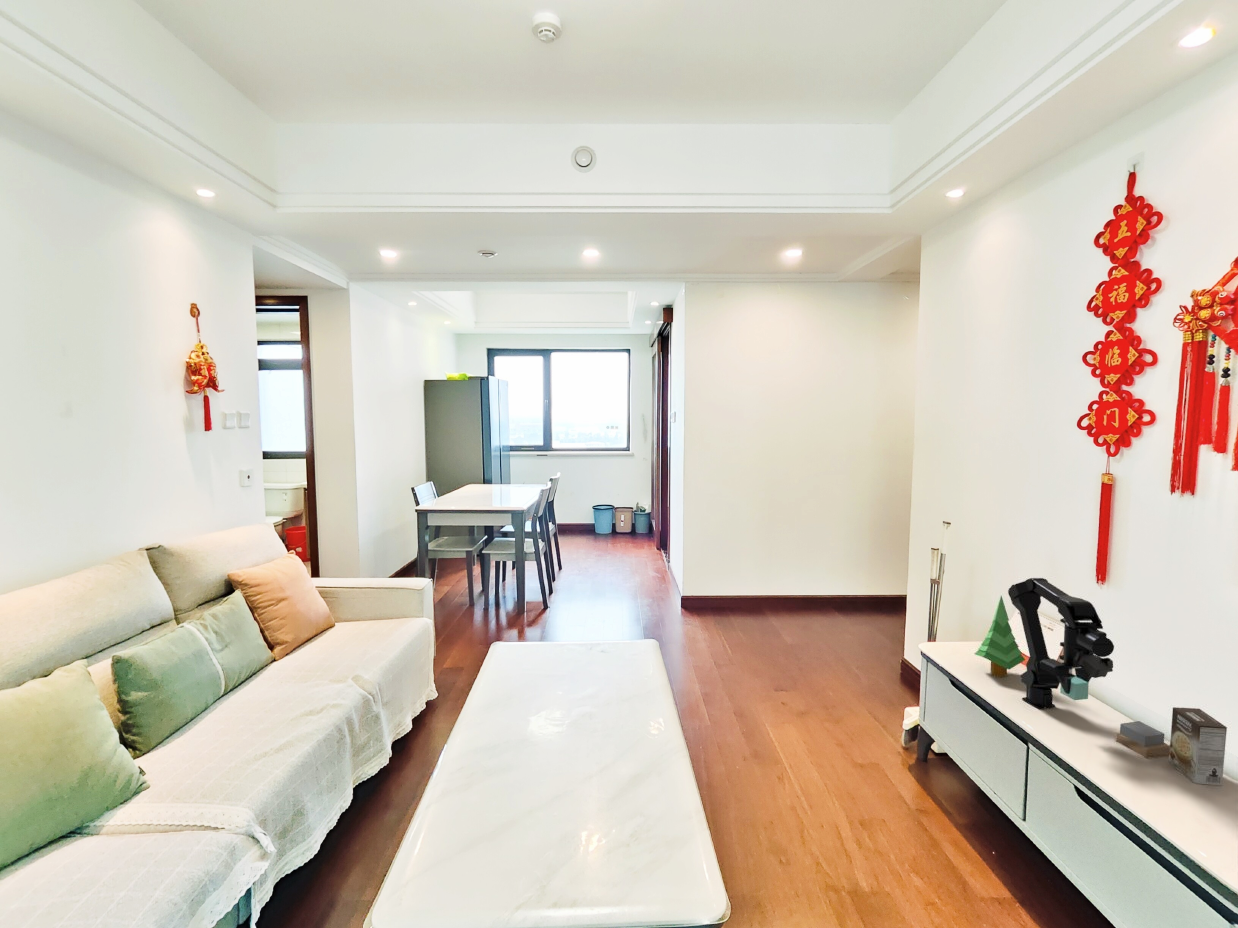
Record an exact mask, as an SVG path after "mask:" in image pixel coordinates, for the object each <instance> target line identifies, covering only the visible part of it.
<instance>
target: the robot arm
mask: <svg viewBox="0 0 1238 928" xmlns="http://www.w3.org/2000/svg"><path fill="white" fill-rule="evenodd" d="M1007 592H1008V593H1007V594H1008V596H1009V598H1010V601H1011V603H1012V605H1013V606H1014V608H1016V609H1017V611H1019V615H1020V619H1021V623H1022V627H1023V628H1022V629H1023V632H1024V636H1025V640H1026V644H1027V645H1026V646H1027V649H1028V652H1029V653H1028V654H1029V657H1028V660H1027V662H1026V671H1024V672H1023V673H1021V675H1020V682H1021V683H1022V684H1023V685H1025V686H1026V690H1025V692H1026V693H1025V694H1026V695H1025V697H1021V699H1022V700H1023V701H1024V702H1026V703H1028V704H1030V705H1031V706H1033V707H1034V708H1036V709H1038V710H1043V709H1050V708H1056V704H1054V703H1053V696H1054V695H1053V689H1055V690H1058V689H1059V686H1060V687H1061V686H1062V688H1063V690H1064V692H1065V693H1067V694H1069V692H1070V687H1071V679H1072V678H1074V677H1075V676H1076V677H1078V678H1080V679H1082V680H1084V681H1086V682H1088V683H1089V682H1090V680H1091V679H1092V678H1093V679H1098V678H1105V677H1107V675H1108V673H1110V672H1113V671H1114V670H1113V668H1114V661H1113V660H1112V659H1111V658H1109V656H1110V655H1111V654H1113V652H1114V649H1115V645H1114V643H1113V641H1112V640H1111V639H1110V638H1108V636H1107V635H1108V634H1107V633H1106V632H1104V631H1102V630H1103V629H1104V626H1103V621H1102V620H1101V619H1100V616H1099V614H1098V613H1097V610H1096V607H1095V606H1094V605H1093V603H1091V602H1090V601H1088V600H1085V599H1083V598H1082V597H1080V598H1079V597H1075V596H1071V595H1069V594H1068V593H1066V592H1064V590H1061V589H1060V588H1058V587H1057V586H1055V585H1054V584H1052V583H1050V582H1049V581H1048V579H1046V578H1044V577H1030V578H1028V579H1027V578H1026V579H1025V580H1024V581H1021V582H1020V581H1019V582H1017V583H1015V584H1012V585H1011V586H1010V587H1009V588H1008V590H1007ZM1041 598H1043V599H1045V600H1046V601H1047V602H1049V603H1051V604H1052V605H1054V606H1055V607H1056V608H1057V612H1058V614H1059V615H1060V616H1061V617H1063V618H1060V620H1059V621H1060V622H1061V623H1062V624H1064V626H1063V627H1064V631H1063V632H1064V633H1063V641H1062V642H1061V641H1060V642H1059V646H1060V647H1063V654H1060V655H1059V660H1062V661H1063V662H1061V661H1059V660H1057V659H1055V658H1051V657H1050V656H1049V654H1048V649H1047V645H1046V642H1045V636H1044V633H1043V629H1042V625H1041V619H1040V616H1039V612H1038V610H1039V608H1040V606H1041V604H1042V600H1041ZM1073 669H1074V672H1075V674H1073Z"/></svg>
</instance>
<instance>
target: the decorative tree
mask: <svg viewBox="0 0 1238 928" xmlns="http://www.w3.org/2000/svg"><path fill="white" fill-rule="evenodd" d="M1009 621H1010V619H1009V615H1008V613H1007V610H1006V606H1005V603H1004V598H1003V596H1002V595H1000V597H999V601H998V604H997V608H996V610H995V613H994V615H993V619H992V622H991V625H990V627H989V630H988V632H987V634H986V636H985V637H984V640H983V641H982V643H981V644H980V646H979V647H978V649H977V651H976V652H974V655H975V656H979V657H981V658H983V659H986V660H988V661H990V674H991V675H992V676H994V675H995V676H994V677H999V678H1006V677H1007V676H1008V670H1011V669H1014V667H1016V666H1017V665H1019V664H1021V663H1023V662H1024V661H1026V659H1025V657H1024V656H1023V655H1022V654H1023V652H1022V651H1021V649H1020V648H1019V647H1020V646H1019V644H1018V643H1017V642H1016V637H1015V636H1014V635H1013V630H1012V627H1011V626H1010V623H1009Z"/></svg>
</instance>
